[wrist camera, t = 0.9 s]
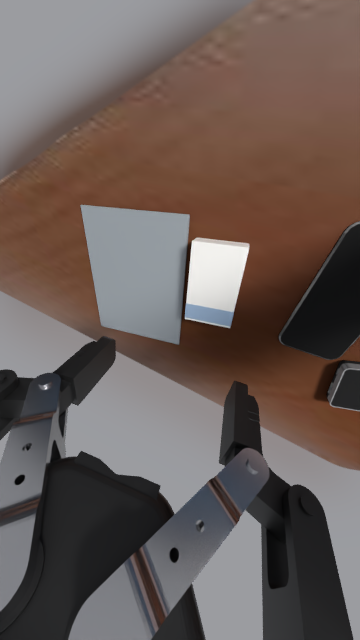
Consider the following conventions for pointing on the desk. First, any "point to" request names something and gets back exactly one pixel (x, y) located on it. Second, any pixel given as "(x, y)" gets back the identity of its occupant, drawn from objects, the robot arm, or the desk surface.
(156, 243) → the mat
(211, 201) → the desk surface
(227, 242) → the card box
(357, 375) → the external hard drive
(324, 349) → the smartphone
